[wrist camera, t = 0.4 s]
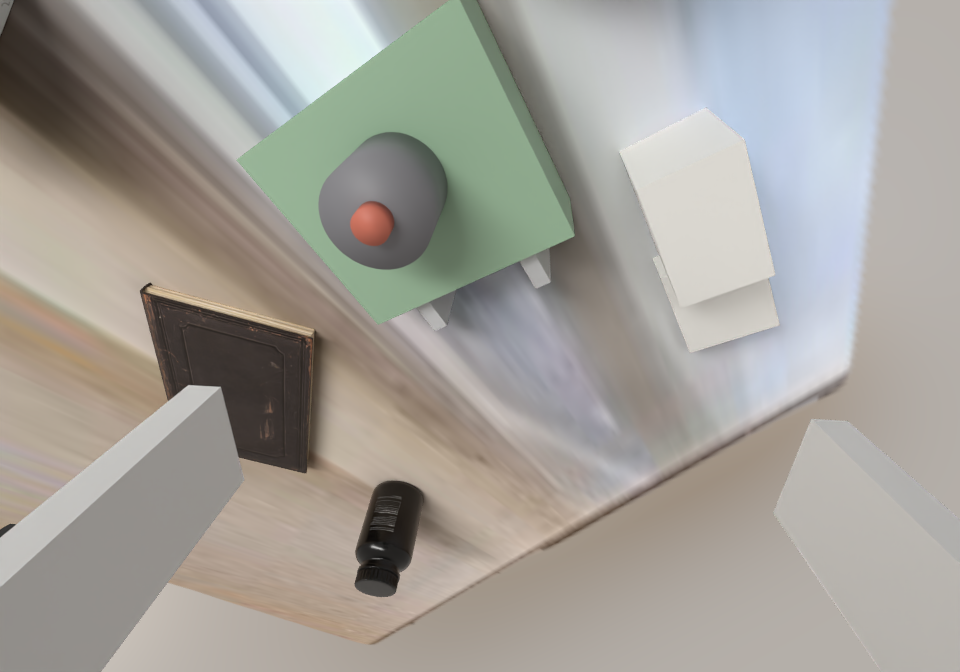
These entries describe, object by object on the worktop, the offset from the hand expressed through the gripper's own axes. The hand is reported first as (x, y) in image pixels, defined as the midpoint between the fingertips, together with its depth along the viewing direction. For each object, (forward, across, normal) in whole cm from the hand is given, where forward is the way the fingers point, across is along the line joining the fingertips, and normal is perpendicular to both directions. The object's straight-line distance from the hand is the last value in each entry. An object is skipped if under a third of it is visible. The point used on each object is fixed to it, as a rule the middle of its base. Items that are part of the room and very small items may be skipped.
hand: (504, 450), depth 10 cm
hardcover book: (+34, -28, -20) cm, 48 cm away
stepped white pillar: (+26, +14, 0) cm, 30 cm away
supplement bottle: (+37, -12, -38) cm, 55 cm away
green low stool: (+26, -5, +3) cm, 27 cm away
